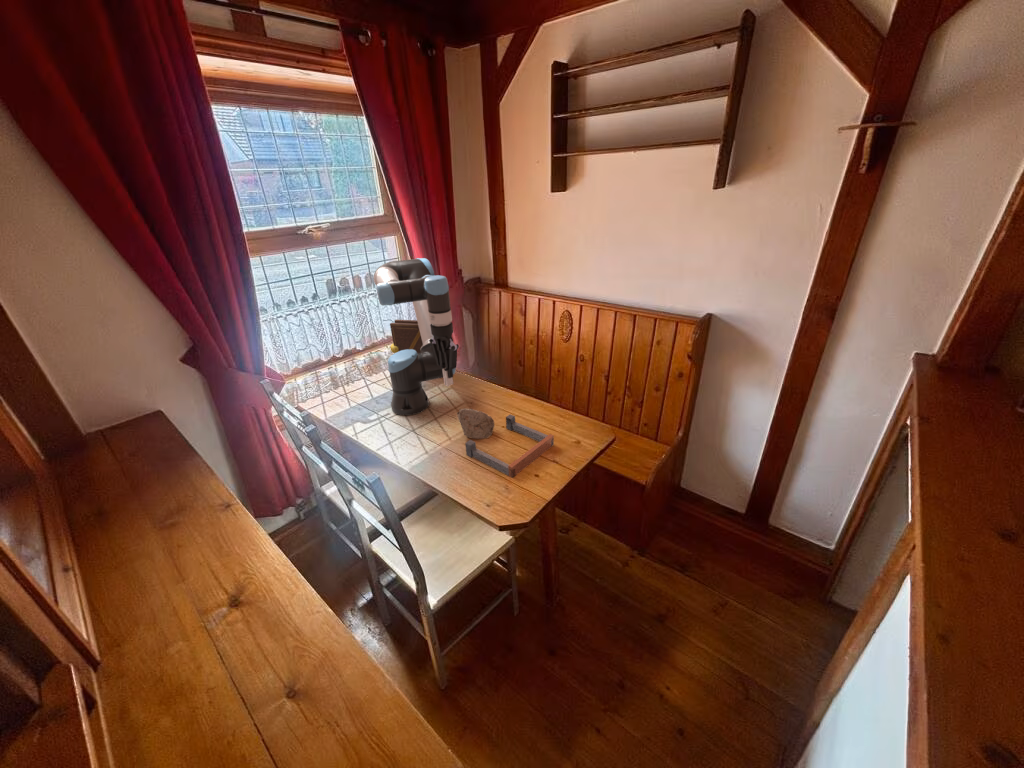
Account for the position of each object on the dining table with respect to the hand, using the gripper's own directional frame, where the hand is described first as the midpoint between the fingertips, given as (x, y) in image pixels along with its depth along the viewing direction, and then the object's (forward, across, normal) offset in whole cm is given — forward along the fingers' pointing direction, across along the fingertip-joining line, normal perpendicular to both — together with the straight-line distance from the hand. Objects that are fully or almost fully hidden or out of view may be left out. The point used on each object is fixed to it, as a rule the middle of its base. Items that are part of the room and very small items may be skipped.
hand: (448, 384), depth 155 cm
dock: (+16, +29, 0) cm, 33 cm away
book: (+17, -49, +21) cm, 56 cm away
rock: (+17, +12, 0) cm, 21 cm away
